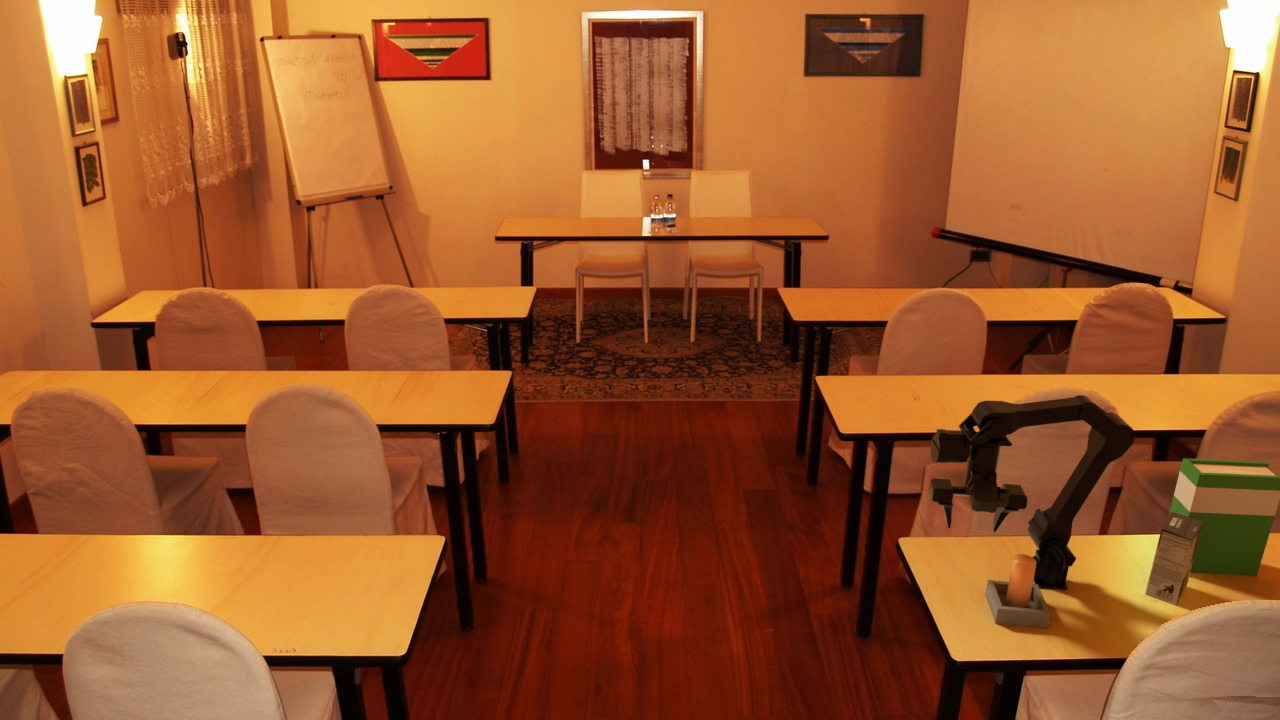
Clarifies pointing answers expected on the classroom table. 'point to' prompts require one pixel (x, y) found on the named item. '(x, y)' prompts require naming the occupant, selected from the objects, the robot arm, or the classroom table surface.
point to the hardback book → (1228, 512)
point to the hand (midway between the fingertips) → (971, 529)
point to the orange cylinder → (1020, 581)
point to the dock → (1028, 616)
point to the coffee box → (1174, 558)
